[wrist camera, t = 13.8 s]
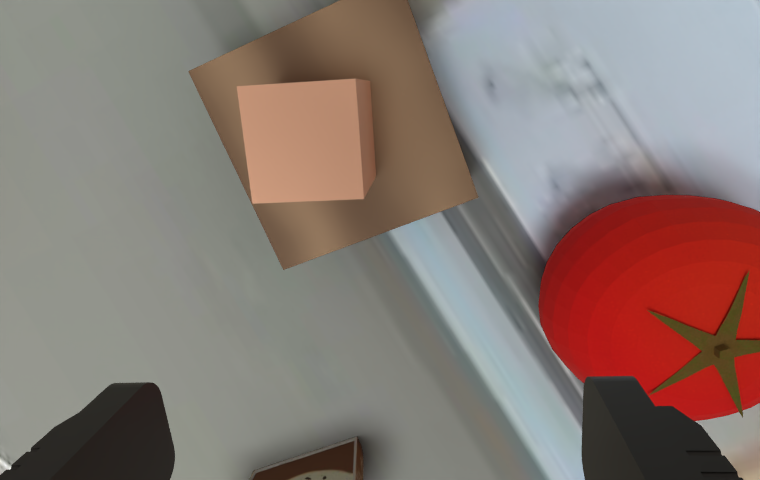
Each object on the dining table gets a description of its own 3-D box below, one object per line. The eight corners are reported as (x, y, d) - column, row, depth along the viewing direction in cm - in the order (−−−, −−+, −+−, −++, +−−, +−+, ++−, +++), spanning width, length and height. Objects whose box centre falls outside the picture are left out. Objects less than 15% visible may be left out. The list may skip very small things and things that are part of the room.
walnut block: (402, -5, 30) (397, -27, 25) (468, 178, 33) (478, 197, 27) (229, 74, 32) (188, 71, 27) (305, 240, 35) (283, 269, 30)
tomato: (524, 362, 36) (563, 465, 26) (523, 187, 33) (569, 230, 23) (733, 355, 35) (858, 460, 25) (757, 172, 31) (914, 210, 21)
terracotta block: (370, 80, 26) (355, 78, 20) (376, 176, 28) (363, 199, 22) (276, 86, 27) (236, 86, 21) (287, 180, 28) (252, 203, 22)
